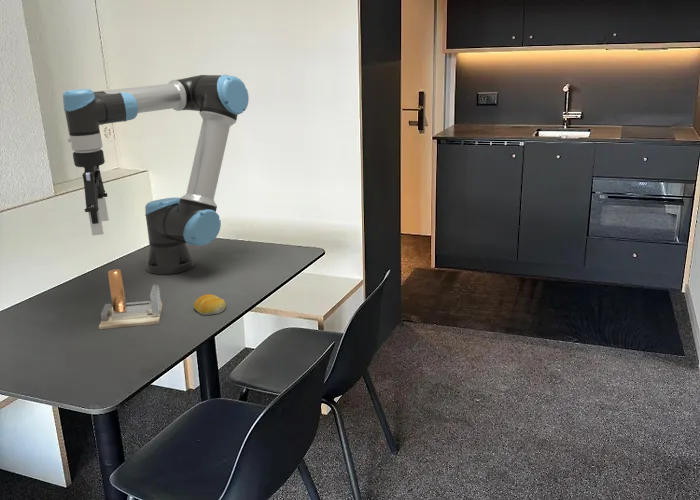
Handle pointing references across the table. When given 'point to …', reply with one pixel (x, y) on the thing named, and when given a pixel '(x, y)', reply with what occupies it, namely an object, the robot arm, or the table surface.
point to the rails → (126, 314)
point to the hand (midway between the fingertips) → (100, 227)
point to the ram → (119, 295)
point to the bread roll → (209, 305)
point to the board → (130, 321)
